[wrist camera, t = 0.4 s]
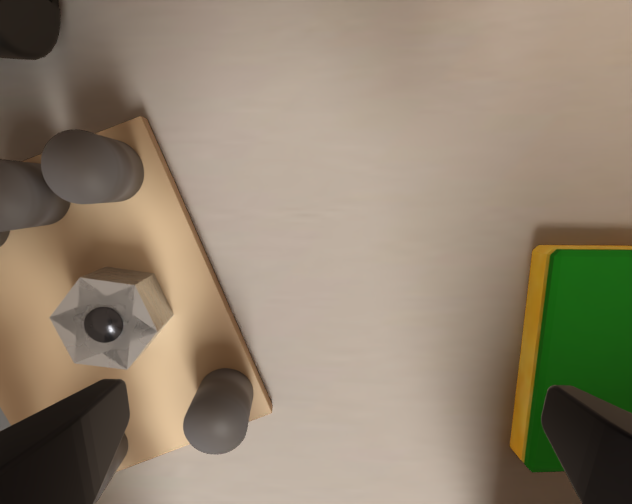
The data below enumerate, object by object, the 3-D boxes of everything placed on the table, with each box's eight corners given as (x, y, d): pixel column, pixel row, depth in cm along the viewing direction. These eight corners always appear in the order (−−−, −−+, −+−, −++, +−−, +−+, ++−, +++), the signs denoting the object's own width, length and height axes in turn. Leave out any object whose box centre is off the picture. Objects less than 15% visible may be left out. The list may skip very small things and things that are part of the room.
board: (61, 485, 23) (15, 543, 19) (-100, 212, 19) (-193, 218, 16) (272, 405, 23) (268, 448, 19) (146, 119, 19) (111, 101, 16)
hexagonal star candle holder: (110, 361, 21) (85, 386, 18) (68, 280, 20) (35, 294, 17) (183, 334, 21) (167, 354, 18) (144, 252, 20) (122, 261, 17)
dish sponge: (637, 244, 23) (678, 251, 20) (604, 443, 25) (637, 470, 23) (528, 243, 22) (556, 250, 20) (505, 446, 25) (527, 474, 22)
